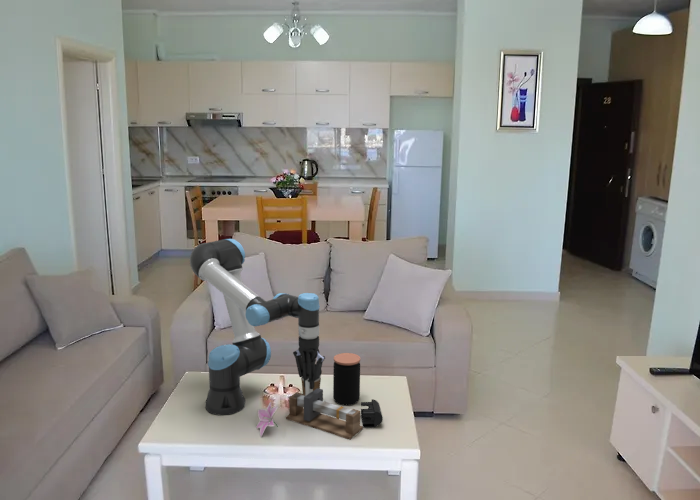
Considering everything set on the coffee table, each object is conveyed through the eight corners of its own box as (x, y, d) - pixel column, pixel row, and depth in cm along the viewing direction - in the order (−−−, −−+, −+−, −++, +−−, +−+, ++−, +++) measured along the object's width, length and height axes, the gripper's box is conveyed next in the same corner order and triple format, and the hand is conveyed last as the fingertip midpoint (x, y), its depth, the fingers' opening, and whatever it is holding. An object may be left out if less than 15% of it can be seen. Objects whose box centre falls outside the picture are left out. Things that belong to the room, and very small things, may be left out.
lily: (260, 421, 225) (248, 405, 221) (288, 411, 224) (278, 394, 219) (259, 447, 215) (247, 430, 210) (289, 436, 214) (278, 419, 209)
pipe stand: (285, 418, 226) (285, 398, 224) (300, 409, 233) (299, 389, 231) (349, 439, 212) (350, 418, 210) (362, 428, 219) (363, 408, 217)
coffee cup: (318, 407, 235) (318, 371, 231) (297, 405, 236) (297, 369, 233) (323, 398, 243) (324, 363, 240) (303, 396, 244) (303, 361, 241)
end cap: (382, 428, 220) (383, 411, 219) (363, 428, 220) (363, 411, 218) (379, 415, 230) (379, 398, 228) (360, 415, 229) (360, 399, 228)
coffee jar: (364, 397, 244) (365, 355, 240) (352, 408, 235) (352, 365, 231) (341, 392, 249) (341, 350, 245) (328, 402, 239) (328, 359, 235)
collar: (303, 419, 221) (303, 397, 219) (317, 410, 229) (317, 388, 227) (309, 421, 220) (309, 398, 218) (322, 411, 228) (322, 389, 226)
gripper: (288, 335, 219) (288, 395, 224) (317, 342, 212) (318, 404, 217) (300, 329, 225) (300, 388, 230) (329, 336, 219) (329, 396, 224)
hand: (309, 396), depth 224 cm, fingers closed
